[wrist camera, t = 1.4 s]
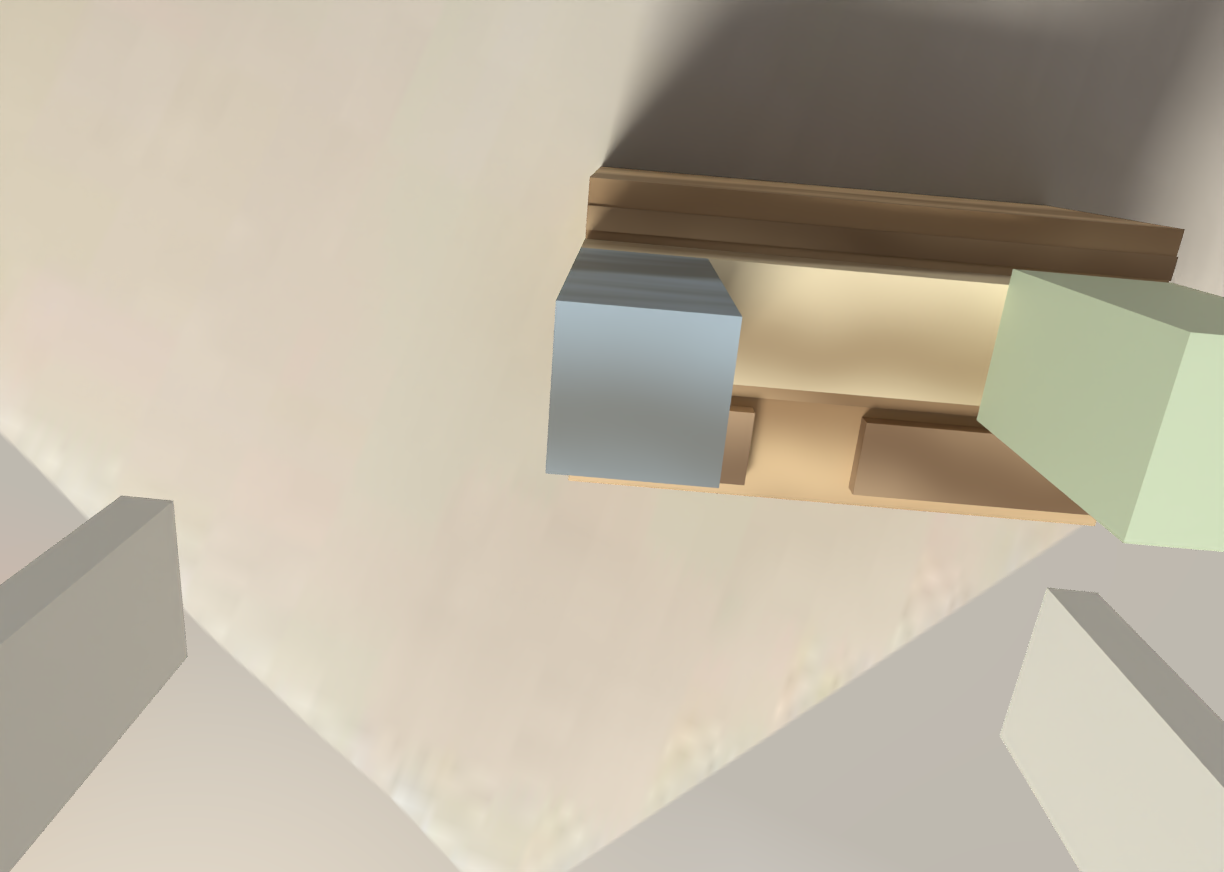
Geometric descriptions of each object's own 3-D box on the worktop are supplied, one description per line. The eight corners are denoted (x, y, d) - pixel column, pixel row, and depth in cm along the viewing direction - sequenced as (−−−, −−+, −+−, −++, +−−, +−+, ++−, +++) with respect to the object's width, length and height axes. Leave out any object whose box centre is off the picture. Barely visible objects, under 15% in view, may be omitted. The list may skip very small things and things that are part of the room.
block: (1012, 268, 27) (1190, 331, 18) (1171, 283, 27) (1423, 352, 18) (976, 420, 28) (1123, 543, 20) (1126, 432, 28) (1337, 561, 20)
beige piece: (585, 238, 29) (555, 300, 18) (1168, 289, 29) (1483, 381, 18) (577, 352, 30) (545, 473, 19) (1135, 401, 30) (1409, 547, 20)
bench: (600, 166, 38) (588, 178, 28) (1047, 205, 38) (1197, 231, 28) (583, 401, 41) (566, 487, 31) (990, 437, 42) (1104, 534, 31)
